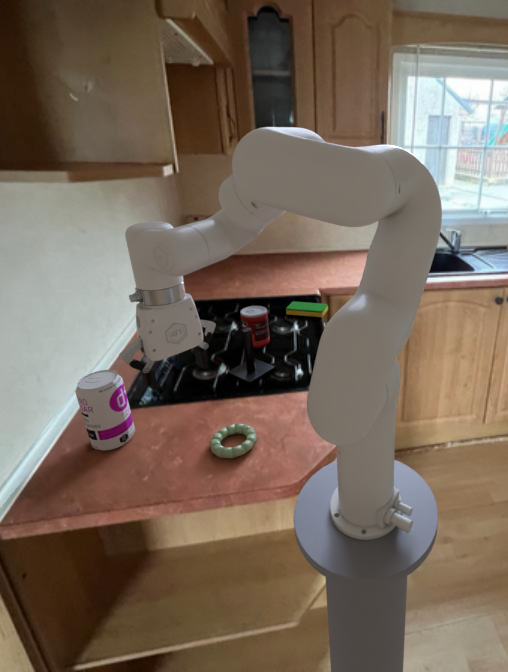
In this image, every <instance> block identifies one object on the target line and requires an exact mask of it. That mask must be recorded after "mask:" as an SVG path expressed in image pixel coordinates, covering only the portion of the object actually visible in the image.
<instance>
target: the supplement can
mask: <svg viewBox="0 0 508 672" xmlns="http://www.w3.org/2000/svg"><path fill="white" fill-rule="evenodd" d="M75 396H76V399H77V403H78V407H79V410H80V413H81V415H82V419H83V422H84V426H85V429H86V433H87V436H88V439H89V442H90V445H91V447H92V448H93V449H95V450H99V451H111V450H115V449H117V448H120V447H122V446H124V445H125V444H127V443H128V442H129V441H131V439H132V437H133V436H134V435H135V432H136V426H135V423H134V419H133V416H132V411H131V406H130V403H129V400H128V395H127V390H126V388H125V383H124V379H123V377H122V375H120V374H118V372H117V371H116V370H114V369H101V370H97V371H93V372H91V373H89V374H86V375H84V376H83V377H81V378H80V379H78V381H77V383H76V388H75Z"/></svg>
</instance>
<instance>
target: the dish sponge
mask: <svg viewBox="0 0 508 672" xmlns="http://www.w3.org/2000/svg"><path fill="white" fill-rule="evenodd" d="M328 311H329V304H328V303H318V302H305V301H291V302H290V304H289V305H287V307H285V314H286V315H290V316H300V317H301V316H303V317H315V318H323V317H324V316H325V315H326V314H327V312H328Z"/></svg>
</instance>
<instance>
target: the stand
mask: <svg viewBox="0 0 508 672" xmlns="http://www.w3.org/2000/svg"><path fill="white" fill-rule="evenodd" d="M241 335H242V342H243V343H242V344H243V353H244V357H245V358H244V359H245V361H244V362H242V363H240V364H238V365H237V366H235V367H233V368H231V369H230V370H228V371H226V374H227V377H230V378H232V379H234V380H235V381H239V382H241V383H243V384H245V385H247V386H250V387H252V386H253V385H254V384H256V383H258V382H259V381H261V380H263V379H264V378H265V377H267V376H268V375H271V374H272V373H273V372H276V366H274V365H272V364H269V363H268V362H264V361H262V360H259V359H257V358H256V357H255V350H254V349H255V348H253V339H252V331H251V328H244V329H242V328H241Z"/></svg>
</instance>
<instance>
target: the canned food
mask: <svg viewBox="0 0 508 672" xmlns="http://www.w3.org/2000/svg"><path fill="white" fill-rule="evenodd" d="M240 323H241V330H242V329H244V328H251V331H252V339H253V348H254V349H258V348H263V347H265V346H267V345H268V344H269V343H270V340H271V337H270V336H271V335H270V327H269V316H268V309H267V308H266V306H262V305H250V306H246V307H243V308H242V309H240Z"/></svg>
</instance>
